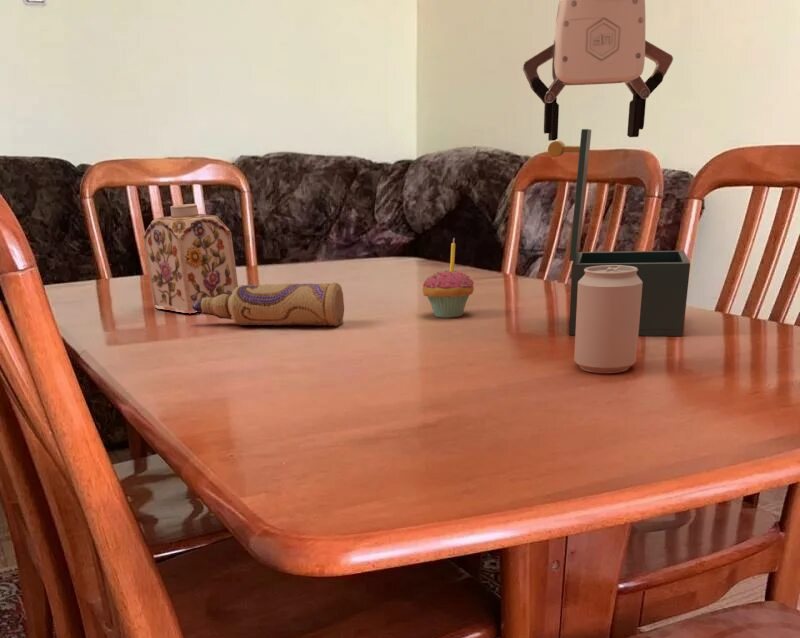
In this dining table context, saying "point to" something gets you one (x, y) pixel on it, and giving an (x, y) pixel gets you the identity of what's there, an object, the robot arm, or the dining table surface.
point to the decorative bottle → (278, 304)
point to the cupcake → (448, 290)
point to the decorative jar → (189, 258)
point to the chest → (645, 287)
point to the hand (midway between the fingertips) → (592, 138)
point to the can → (607, 318)
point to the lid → (557, 150)
